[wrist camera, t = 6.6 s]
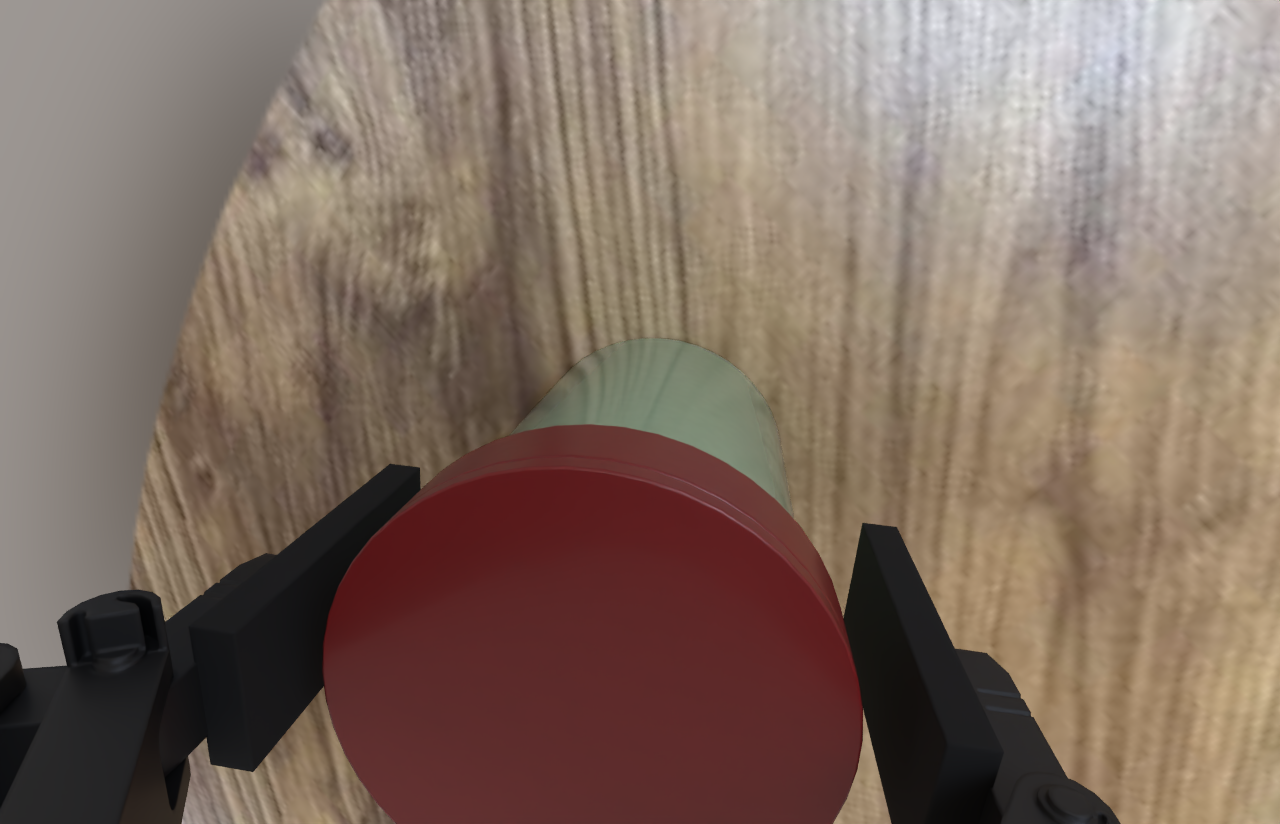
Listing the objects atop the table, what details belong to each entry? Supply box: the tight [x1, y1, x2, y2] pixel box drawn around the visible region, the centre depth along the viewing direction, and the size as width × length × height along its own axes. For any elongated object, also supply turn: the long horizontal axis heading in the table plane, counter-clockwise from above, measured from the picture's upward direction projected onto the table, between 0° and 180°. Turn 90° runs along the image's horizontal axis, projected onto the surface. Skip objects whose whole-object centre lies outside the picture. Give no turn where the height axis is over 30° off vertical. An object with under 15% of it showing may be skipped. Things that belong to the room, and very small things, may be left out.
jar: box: [509, 338, 795, 520], centre depth 17 cm, size 8×8×11 cm
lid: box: [322, 424, 863, 824], centre depth 12 cm, size 9×9×2 cm
